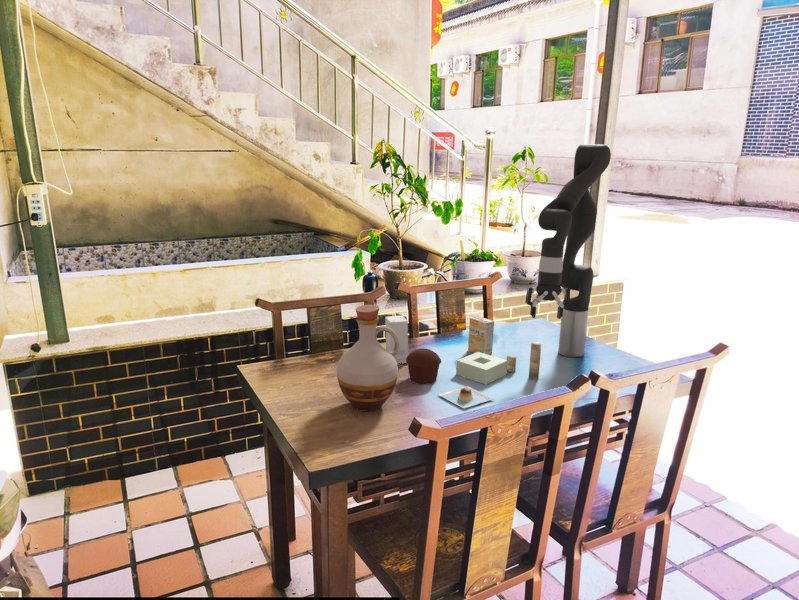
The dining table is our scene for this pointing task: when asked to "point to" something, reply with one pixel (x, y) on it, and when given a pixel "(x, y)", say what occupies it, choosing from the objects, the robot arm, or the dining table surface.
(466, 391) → the dessert
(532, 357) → the long dowel
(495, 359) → the hole block
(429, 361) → the muffin
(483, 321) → the supplement box
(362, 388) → the jug
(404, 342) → the skincare box
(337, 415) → the dining table surface
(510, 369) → the short dowel
